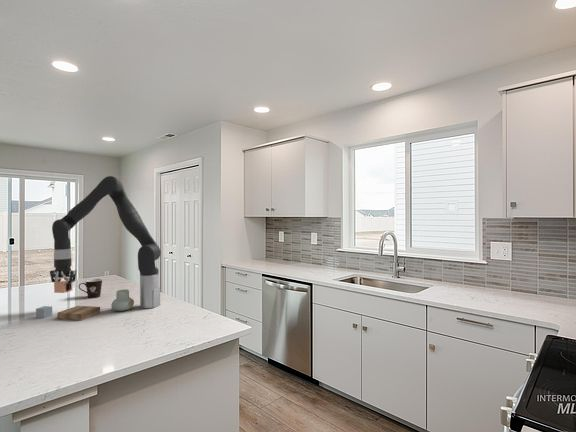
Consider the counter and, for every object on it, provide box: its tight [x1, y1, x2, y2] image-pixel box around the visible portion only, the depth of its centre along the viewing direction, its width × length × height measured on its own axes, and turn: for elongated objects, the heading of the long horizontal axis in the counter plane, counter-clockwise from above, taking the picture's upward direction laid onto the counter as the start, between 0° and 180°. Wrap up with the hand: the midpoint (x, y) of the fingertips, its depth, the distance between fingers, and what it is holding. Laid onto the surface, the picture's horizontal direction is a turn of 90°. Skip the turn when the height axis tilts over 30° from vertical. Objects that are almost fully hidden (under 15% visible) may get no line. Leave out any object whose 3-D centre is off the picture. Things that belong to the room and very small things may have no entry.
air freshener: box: [110, 288, 135, 312], centre depth 171 cm, size 11×8×10 cm
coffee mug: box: [78, 278, 103, 299], centre depth 197 cm, size 12×9×10 cm
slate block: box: [35, 305, 53, 319], centre depth 159 cm, size 4×4×4 cm
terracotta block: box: [53, 280, 73, 294], centre depth 170 cm, size 6×6×5 cm
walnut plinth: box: [56, 305, 101, 321], centre depth 160 cm, size 13×12×3 cm
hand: (63, 290), depth 170 cm, fingers closed on terracotta block, 5 cm apart
